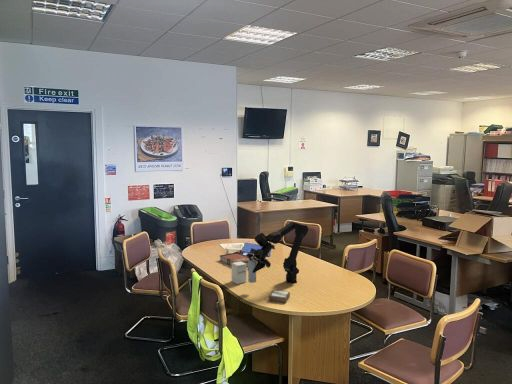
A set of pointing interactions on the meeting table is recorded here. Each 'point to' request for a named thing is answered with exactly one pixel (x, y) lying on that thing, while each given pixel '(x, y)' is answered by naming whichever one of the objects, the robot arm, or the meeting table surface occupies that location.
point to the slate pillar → (251, 271)
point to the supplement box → (238, 272)
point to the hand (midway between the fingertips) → (250, 271)
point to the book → (234, 258)
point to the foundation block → (279, 296)
